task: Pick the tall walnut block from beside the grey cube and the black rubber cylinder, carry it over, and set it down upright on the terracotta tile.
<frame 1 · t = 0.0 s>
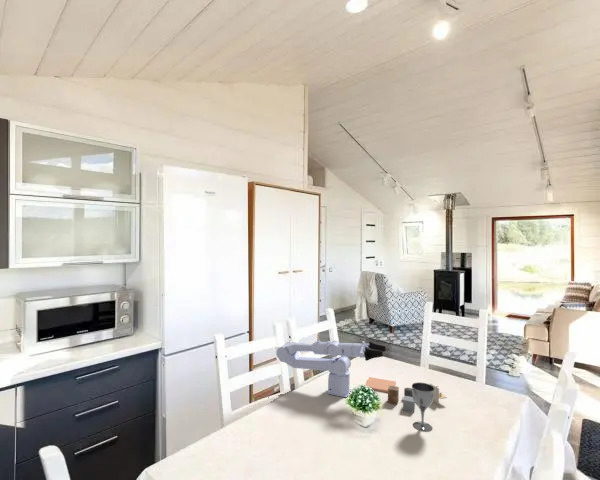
hand: (384, 351, 151), 22 cm above the table, tool horizontal, fingers open, 7 cm apart
rubber cylinder: (408, 398, 153), on the table
wine glass: (422, 426, 130), on the table
terracotta tile: (380, 385, 166), on the table
grey cube: (409, 409, 144), on the table
walnut block: (393, 401, 150), on the table
architectural model: (435, 402, 151), on the table
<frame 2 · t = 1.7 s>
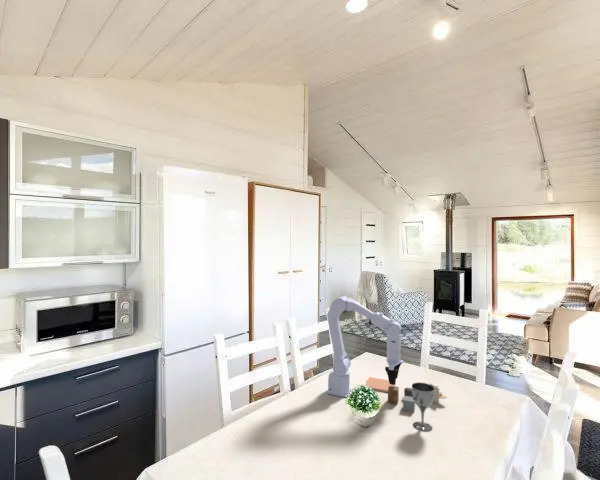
hand: (393, 381, 150), 9 cm above the table, tool pointing down, fingers open, 7 cm apart
nothing on the table moved.
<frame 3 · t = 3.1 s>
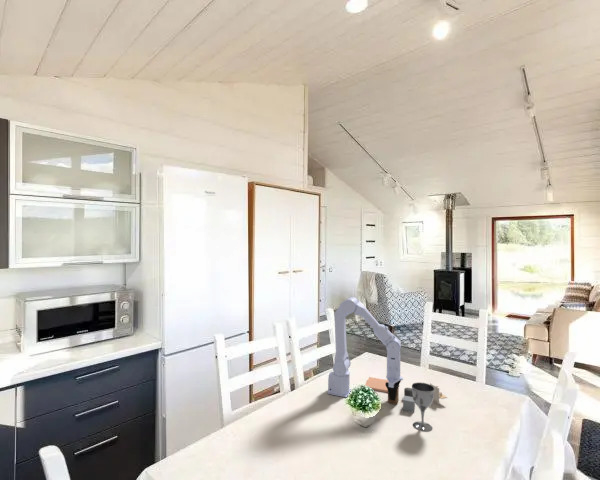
hand: (393, 397, 150), 2 cm above the table, tool pointing down, fingers closed on walnut block, 4 cm apart
walnut block: (393, 401, 150), on the table, touching gripper
everything else where it was.
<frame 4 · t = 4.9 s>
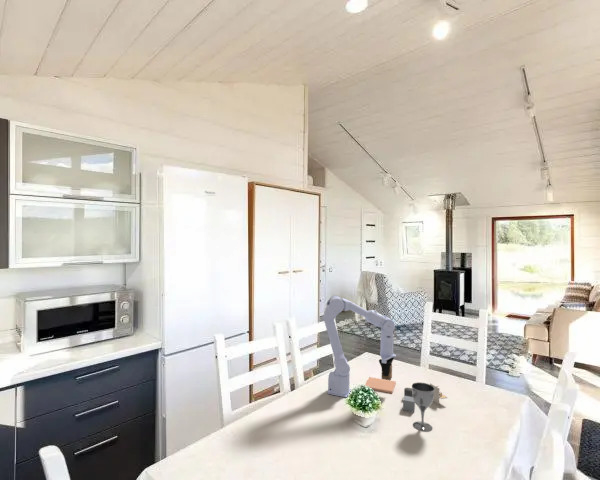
hand: (386, 374, 158), 9 cm above the table, tool pointing down, fingers closed on walnut block, 4 cm apart
walnut block: (386, 378, 158), point 7 cm above the table, touching gripper
everything else where it was.
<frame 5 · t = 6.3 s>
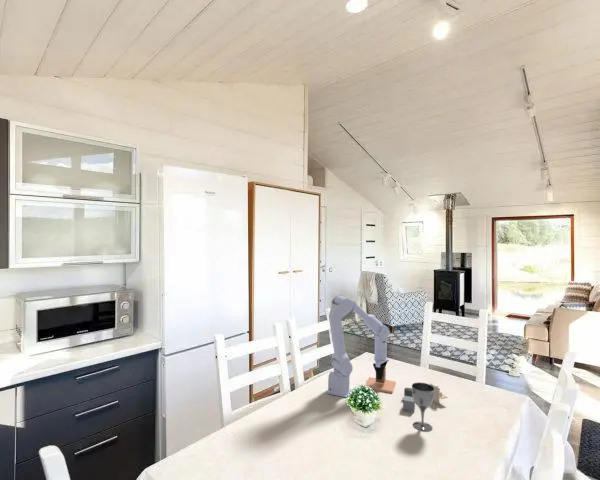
hand: (380, 377, 166), 4 cm above the table, tool pointing down, fingers closed on walnut block, 4 cm apart
walnut block: (380, 381, 166), point 2 cm above the table, touching gripper
everything else where it was.
when the fingers open (4 cm above the table, at t = 7.2 s): walnut block drops 1 cm, resting on terracotta tile.
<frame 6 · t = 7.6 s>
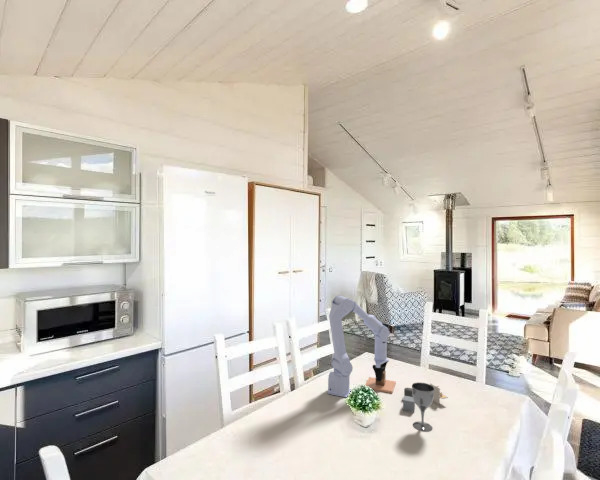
hand: (380, 377, 166), 4 cm above the table, tool pointing down, fingers open, 7 cm apart
walnut block: (380, 383, 166), point 1 cm above the table, touching terracotta tile
everything else where it was.
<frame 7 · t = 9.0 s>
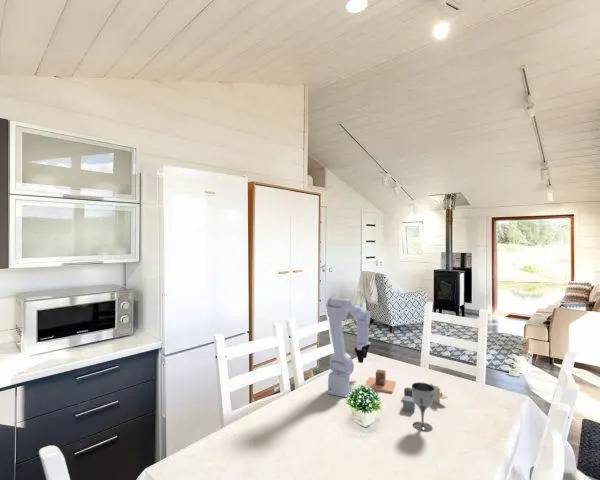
hand: (362, 360, 174), 9 cm above the table, tool pointing down, fingers open, 7 cm apart
nothing on the table moved.
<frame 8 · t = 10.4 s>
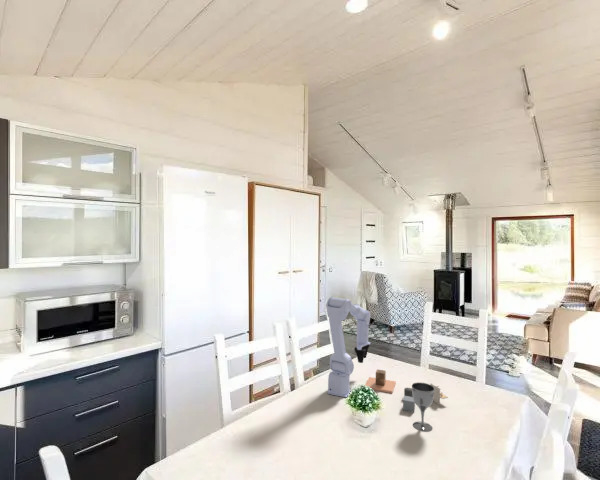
hand: (362, 360, 174), 9 cm above the table, tool pointing down, fingers open, 7 cm apart
nothing on the table moved.
at the end: walnut block inside the target area on the terracotta tile (0.1 cm from its centre), point 1.0 cm above the terracotta tile's base; walnut block tilted 0°; the gripper is holding nothing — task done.
